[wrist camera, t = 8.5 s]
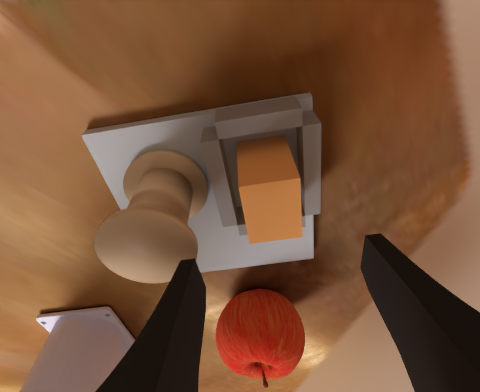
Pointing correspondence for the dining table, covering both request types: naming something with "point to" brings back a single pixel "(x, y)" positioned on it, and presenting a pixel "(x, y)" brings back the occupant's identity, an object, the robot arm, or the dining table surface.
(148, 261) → the knob
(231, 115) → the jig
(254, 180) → the block
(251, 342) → the apple
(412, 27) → the dining table surface
